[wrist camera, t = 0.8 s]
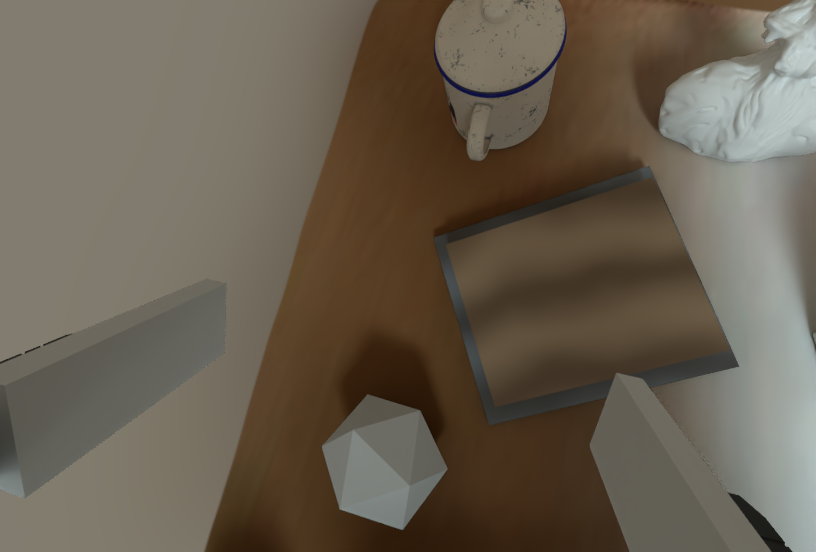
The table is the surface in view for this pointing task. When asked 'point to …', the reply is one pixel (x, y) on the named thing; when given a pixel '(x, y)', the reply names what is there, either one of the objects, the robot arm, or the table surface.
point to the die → (383, 462)
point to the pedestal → (579, 299)
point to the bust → (751, 96)
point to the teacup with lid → (499, 68)
